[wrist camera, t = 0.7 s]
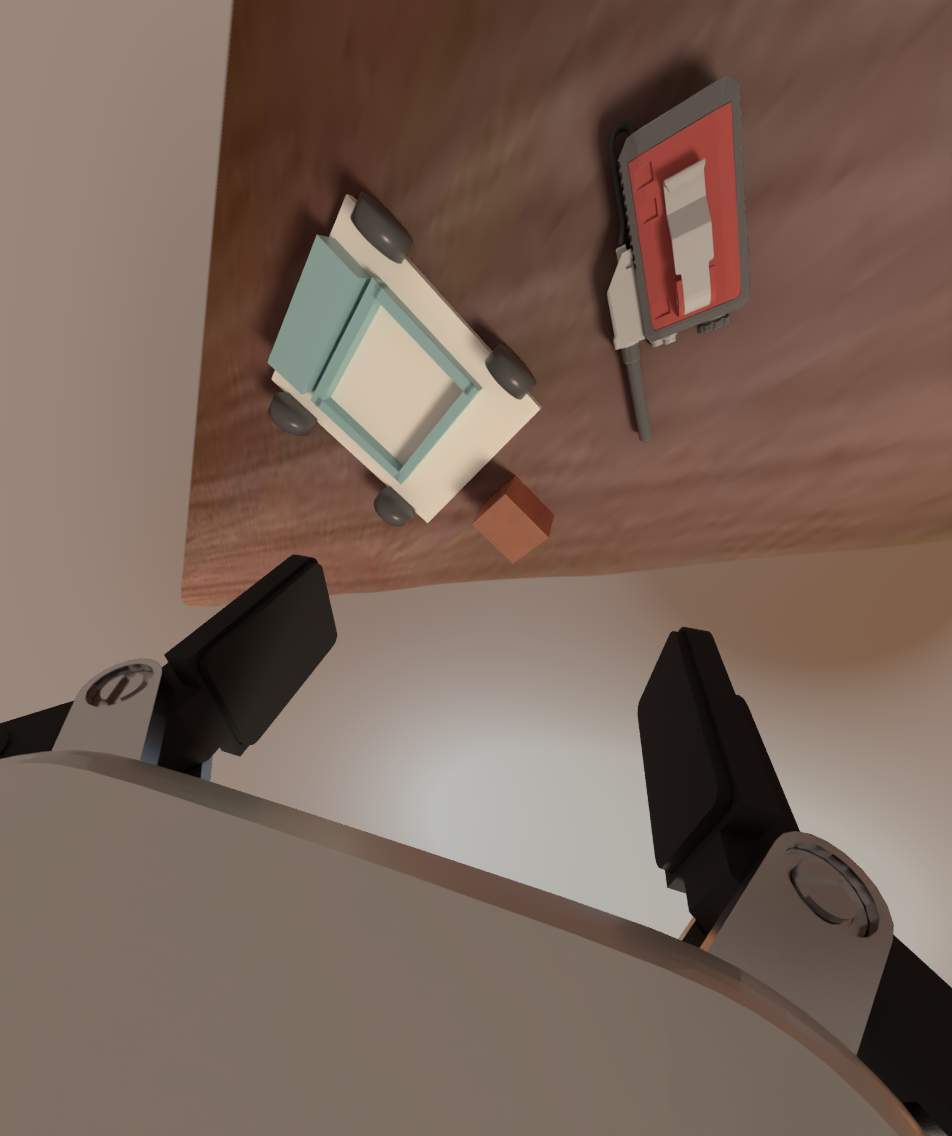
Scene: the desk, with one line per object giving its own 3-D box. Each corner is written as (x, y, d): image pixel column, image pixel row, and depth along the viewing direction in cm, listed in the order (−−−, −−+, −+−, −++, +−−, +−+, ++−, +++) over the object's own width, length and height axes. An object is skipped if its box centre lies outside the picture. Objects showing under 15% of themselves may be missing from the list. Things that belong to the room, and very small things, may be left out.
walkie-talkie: (578, 157, 25) (632, 440, 34) (573, 134, 22) (635, 456, 31) (730, 59, 22) (747, 407, 31) (753, 13, 18) (764, 420, 27)
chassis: (360, 178, 29) (327, 161, 25) (552, 395, 34) (546, 406, 30) (273, 387, 41) (243, 395, 37) (424, 525, 46) (409, 543, 42)
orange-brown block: (515, 474, 39) (505, 494, 35) (554, 514, 40) (548, 537, 36) (484, 503, 42) (471, 524, 38) (521, 539, 43) (512, 563, 39)
